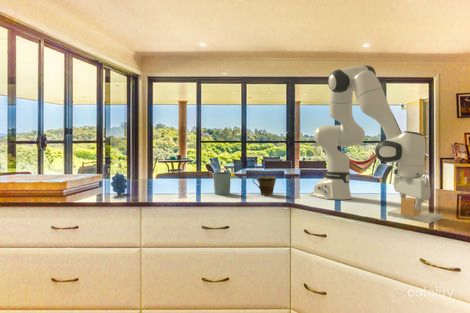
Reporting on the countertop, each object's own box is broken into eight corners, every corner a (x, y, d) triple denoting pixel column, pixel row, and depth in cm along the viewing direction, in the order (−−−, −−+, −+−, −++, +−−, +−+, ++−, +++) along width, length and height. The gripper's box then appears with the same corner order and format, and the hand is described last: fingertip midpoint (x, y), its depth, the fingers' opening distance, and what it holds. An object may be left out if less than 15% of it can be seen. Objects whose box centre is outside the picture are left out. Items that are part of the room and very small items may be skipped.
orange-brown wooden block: (400, 214, 127) (401, 198, 127) (406, 212, 130) (407, 197, 130) (413, 216, 123) (414, 200, 123) (419, 214, 126) (420, 199, 126)
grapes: (117, 196, 168) (117, 174, 167) (108, 195, 170) (107, 173, 170) (132, 193, 178) (132, 172, 178) (123, 192, 181) (123, 171, 180)
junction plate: (387, 215, 132) (388, 200, 131) (400, 211, 139) (401, 197, 139) (430, 223, 119) (431, 207, 119) (441, 218, 127) (442, 203, 126)
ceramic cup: (275, 193, 183) (275, 176, 182) (275, 196, 173) (276, 178, 172) (252, 193, 184) (253, 175, 183) (252, 196, 174) (252, 178, 173)
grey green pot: (230, 195, 176) (230, 173, 175) (212, 195, 176) (212, 173, 175) (230, 192, 186) (231, 172, 185) (213, 192, 186) (213, 171, 185)
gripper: (436, 175, 115) (434, 212, 116) (406, 169, 136) (404, 201, 136) (418, 175, 115) (417, 212, 116) (391, 169, 136) (390, 201, 136)
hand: (410, 206), depth 126 cm, fingers open, 8 cm apart
